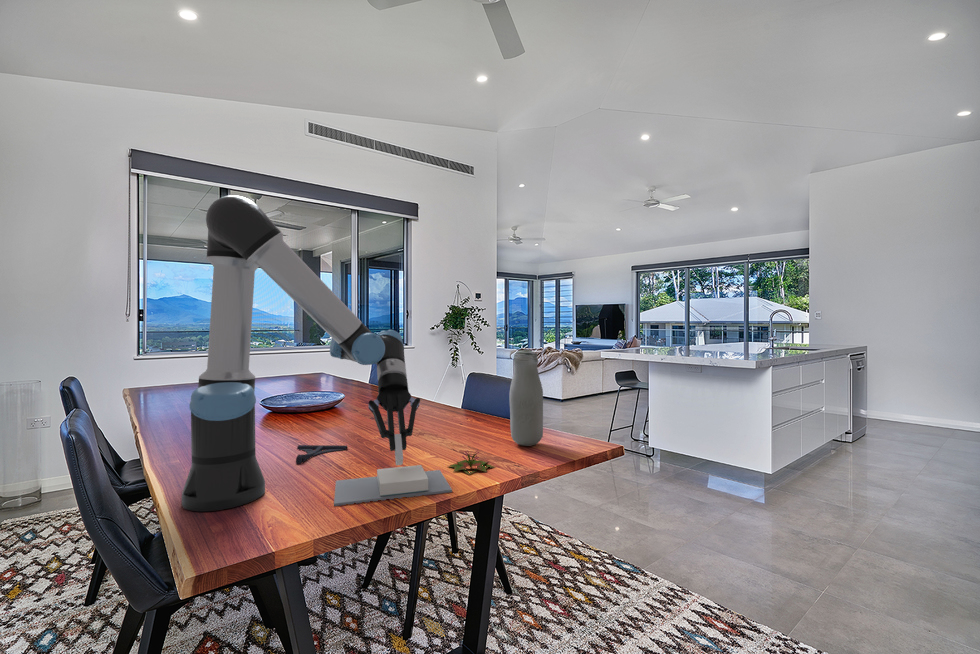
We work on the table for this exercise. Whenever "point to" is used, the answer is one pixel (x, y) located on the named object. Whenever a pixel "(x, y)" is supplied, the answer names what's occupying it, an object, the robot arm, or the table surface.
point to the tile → (402, 480)
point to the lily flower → (470, 464)
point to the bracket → (317, 451)
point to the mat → (369, 489)
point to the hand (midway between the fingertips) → (399, 462)
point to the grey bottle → (526, 400)
